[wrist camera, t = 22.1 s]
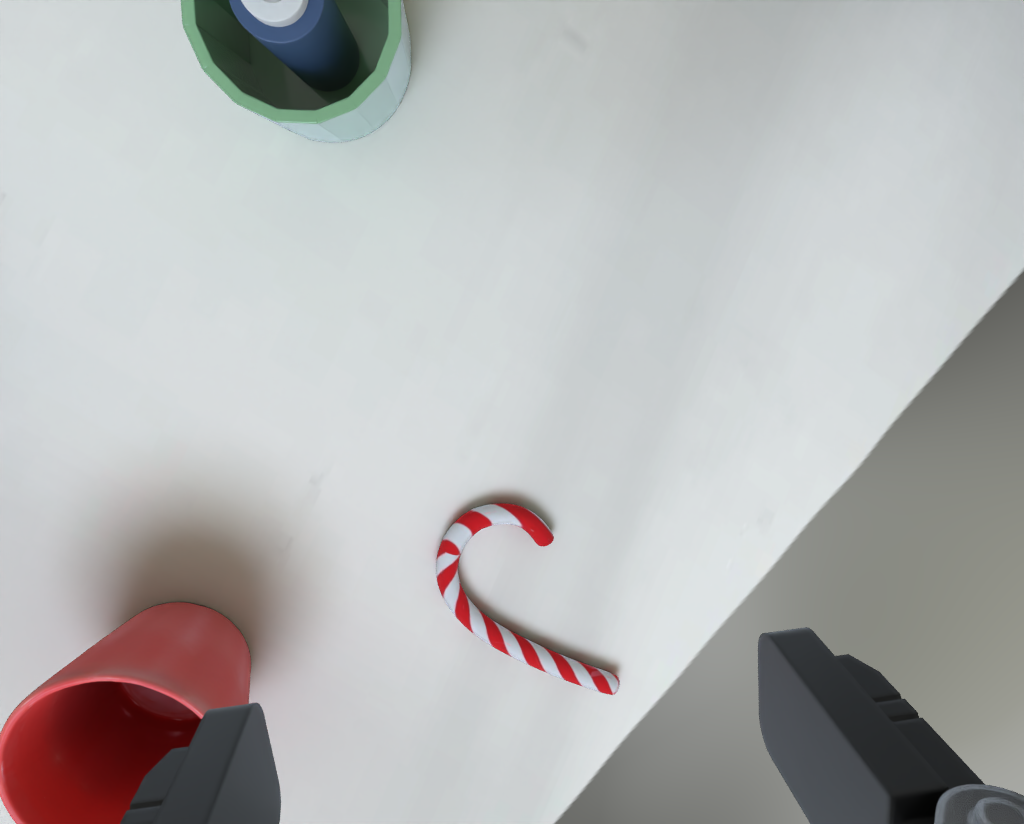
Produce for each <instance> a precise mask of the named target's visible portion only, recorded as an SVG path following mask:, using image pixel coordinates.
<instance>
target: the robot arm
mask: <svg viewBox="0 0 1024 824" xmlns="http://www.w3.org/2000/svg"><path fill="white" fill-rule="evenodd" d="M758 677H759V678H758V680H759V719H760V726H761V731H762V735H763V739H764V742H765V745H766V748H767V750H768V752H769V754H770V756H771V758H772V760H773V762H774V763H775V765H776V766H777V768H778V770H779V772H780V773H781V775H782V777H783V778H784V780H785V782H786V783H787V785H788V787H789V788H790V790H791V792H792V793H793V795H794V797H795V799H796V800H797V802H798V804H799V805H800V807H801V808H802V810H803V812H804V814H805V815H806V817H807V819H808V820H809V822H810V824H1024V796H1023V795H1021V794H1018V793H1016V792H1013V791H1010V790H1007V789H1004V788H1000V787H996V786H991V785H985V784H984V783H983V782H982V781H981V780H980V779H979V778H978V777H977V775H976V774H975V773H974V772H973V771H972V770H971V769H970V768H969V767H968V766H967V765H966V764H965V763H964V762H963V761H962V759H961V758H960V757H959V756H958V755H957V754H956V753H955V752H954V751H953V750H952V749H951V748H950V747H949V746H948V745H947V744H946V742H945V741H944V740H943V739H942V738H941V737H940V736H939V735H938V734H937V733H936V732H935V731H934V730H933V729H932V727H931V726H930V725H929V724H928V723H927V722H926V721H925V720H924V719H923V718H919V716H918V713H917V712H916V710H915V709H914V708H913V707H912V706H911V705H910V704H909V703H908V702H907V701H906V700H905V699H901V696H900V693H899V692H898V691H897V690H896V689H895V688H894V687H893V686H892V685H891V684H890V683H889V682H888V681H887V680H886V678H885V677H884V676H883V675H882V674H881V673H880V672H879V671H877V670H875V669H873V668H872V667H870V666H868V665H866V664H865V663H863V662H861V661H859V660H858V659H856V658H854V657H852V656H850V655H849V654H847V655H840V656H834V654H833V653H832V652H831V651H830V650H829V649H828V648H827V647H826V645H825V644H824V643H823V642H822V641H821V640H820V638H819V637H818V636H817V635H816V634H815V633H814V632H813V631H812V630H811V629H810V628H807V627H805V628H798V629H791V630H784V631H777V632H769V633H763V634H761V635H760V637H759V642H758ZM280 810H281V796H280V786H279V780H278V776H277V771H276V767H275V762H274V758H273V753H272V749H271V744H270V740H269V735H268V731H267V726H266V722H265V717H264V713H263V710H262V708H261V706H260V705H259V704H258V703H251V704H244V705H236V706H229V707H222V708H215V709H209V710H207V711H206V712H205V714H204V716H203V718H202V720H201V722H200V724H199V726H198V728H197V730H196V732H195V735H194V737H193V739H192V741H191V743H190V745H189V747H182V748H175V749H171V750H170V751H169V752H168V753H167V754H166V755H165V756H164V757H163V758H162V759H161V760H160V761H159V762H158V763H157V764H156V765H155V766H154V767H153V768H152V769H151V770H150V771H149V772H148V773H147V774H146V775H145V777H144V779H143V780H142V782H141V784H140V786H139V788H138V790H137V792H136V794H135V796H134V798H133V799H132V801H131V803H130V810H127V811H126V813H125V815H124V817H123V818H122V820H121V822H120V824H279V821H280Z"/></svg>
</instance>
